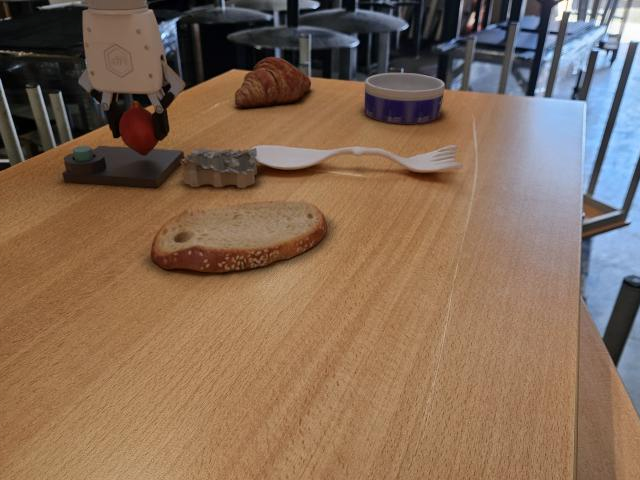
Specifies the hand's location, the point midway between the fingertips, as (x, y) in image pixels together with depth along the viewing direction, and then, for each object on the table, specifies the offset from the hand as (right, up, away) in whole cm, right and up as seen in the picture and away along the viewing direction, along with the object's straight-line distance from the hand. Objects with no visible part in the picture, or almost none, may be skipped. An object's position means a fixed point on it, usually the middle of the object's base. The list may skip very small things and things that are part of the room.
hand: (140, 135), depth 85 cm
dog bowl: (+43, +14, +29) cm, 53 cm away
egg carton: (+12, -7, 0) cm, 14 cm away
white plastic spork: (+32, -4, +3) cm, 32 cm away
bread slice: (+18, -18, -16) cm, 30 cm away
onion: (0, -3, +2) cm, 3 cm away
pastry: (+17, +20, +36) cm, 44 cm away
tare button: (-8, -4, -2) cm, 9 cm away
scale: (-3, -5, +2) cm, 6 cm away
